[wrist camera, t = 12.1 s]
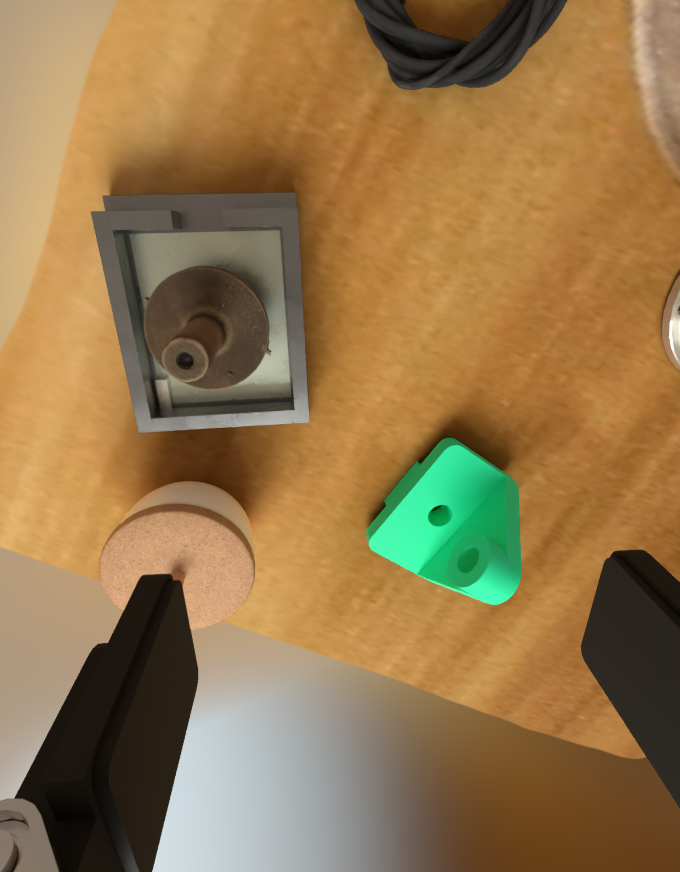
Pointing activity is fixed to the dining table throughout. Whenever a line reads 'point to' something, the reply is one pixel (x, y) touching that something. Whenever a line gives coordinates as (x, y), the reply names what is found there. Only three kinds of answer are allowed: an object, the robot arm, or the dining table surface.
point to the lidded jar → (184, 549)
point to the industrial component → (206, 327)
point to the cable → (456, 44)
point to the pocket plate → (220, 247)
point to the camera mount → (454, 524)
